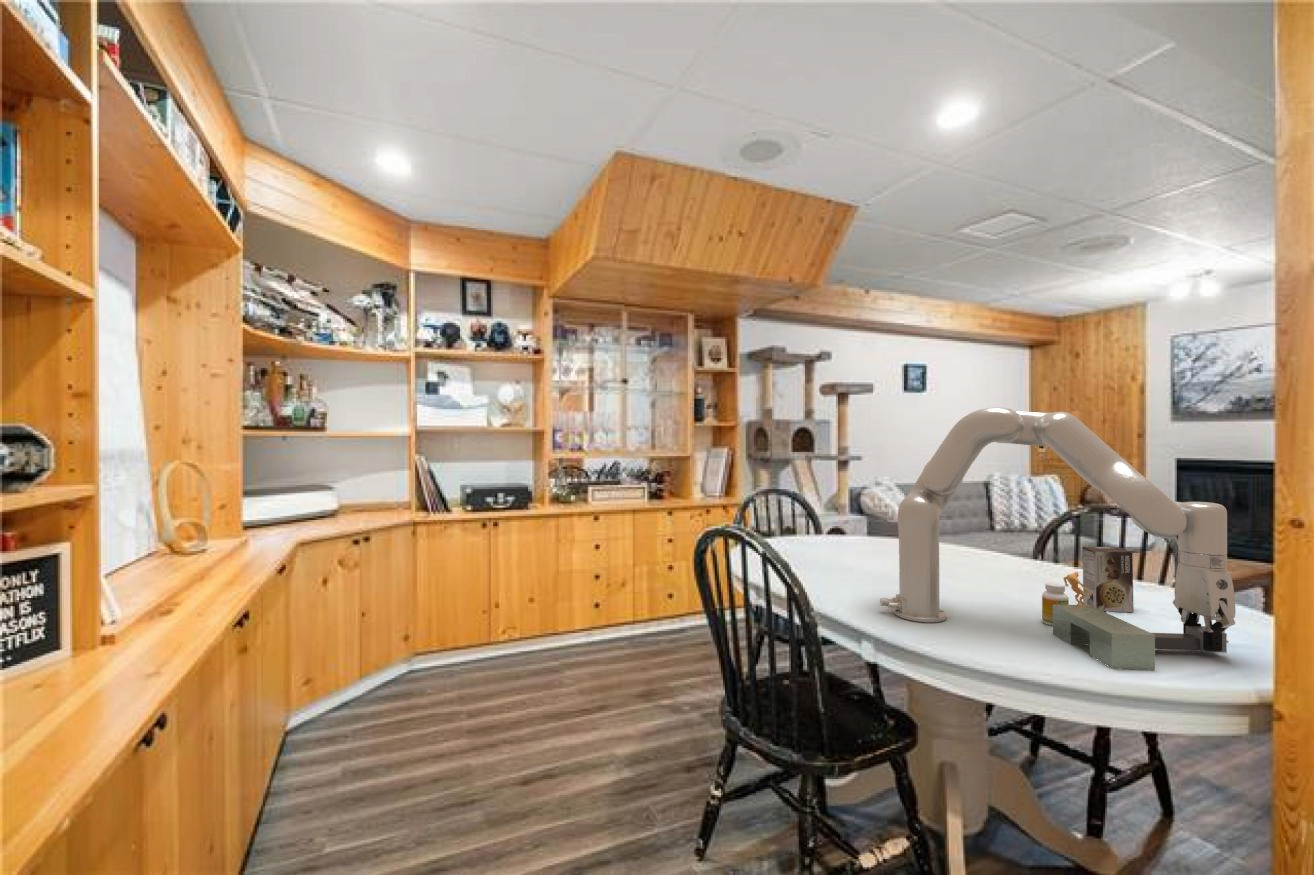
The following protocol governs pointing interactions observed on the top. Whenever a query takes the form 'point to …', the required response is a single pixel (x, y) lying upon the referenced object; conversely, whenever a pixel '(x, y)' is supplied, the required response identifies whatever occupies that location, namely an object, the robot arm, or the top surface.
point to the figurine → (1076, 587)
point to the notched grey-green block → (1105, 636)
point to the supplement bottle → (1052, 600)
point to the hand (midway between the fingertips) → (1202, 645)
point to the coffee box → (1108, 578)
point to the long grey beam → (1186, 640)
